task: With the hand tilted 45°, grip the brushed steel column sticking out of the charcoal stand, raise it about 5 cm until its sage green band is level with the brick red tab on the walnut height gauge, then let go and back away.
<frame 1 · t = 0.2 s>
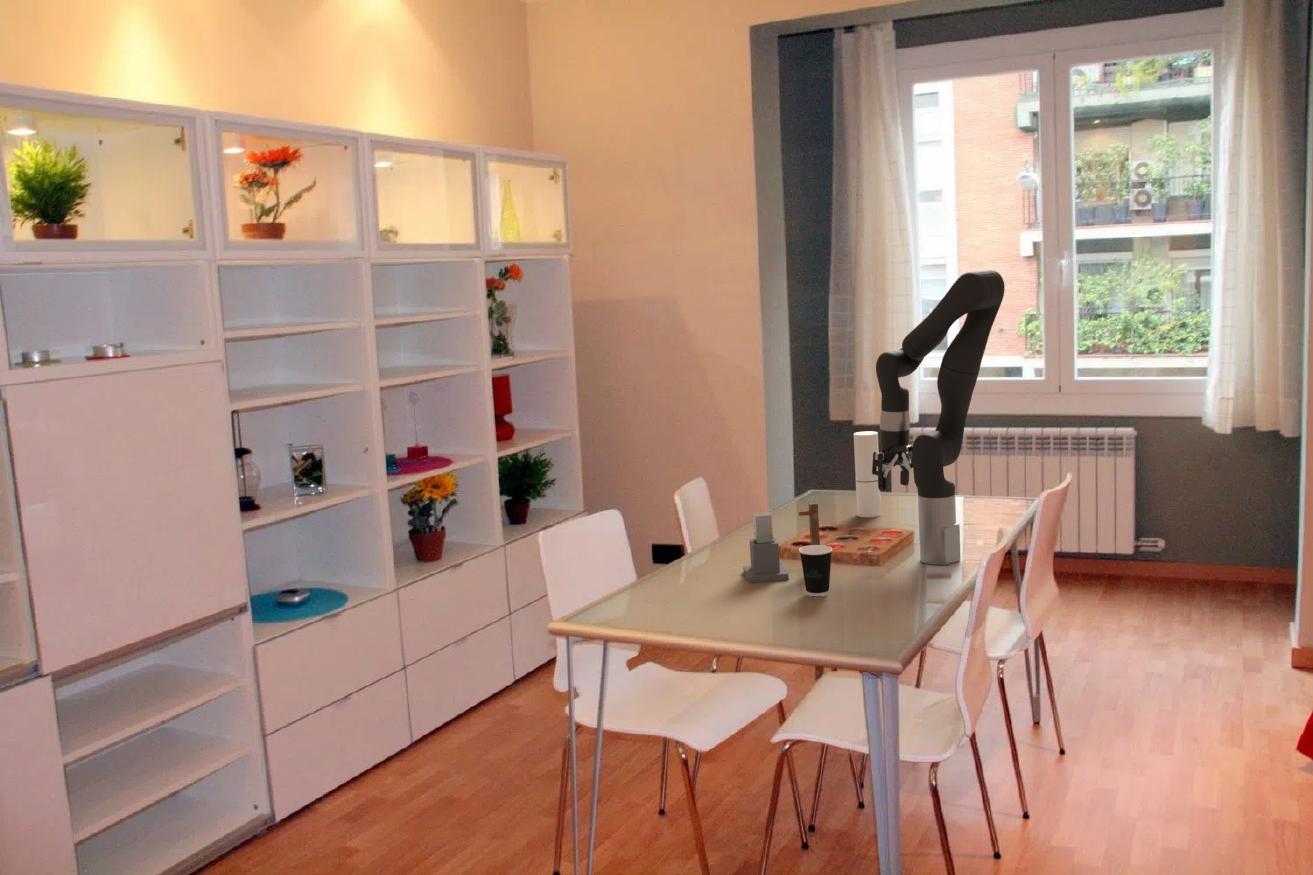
hand: (893, 487, 301), 17 cm above the table, tool pointing down, fingers open, 8 cm apart
dixie cup: (817, 594, 272), on the table
steel column: (763, 541, 289), point 9 cm above the table, slide at 0.0 cm
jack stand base: (765, 575, 291), on the table
cylindrical container: (869, 515, 348), on the table
height gauge: (816, 571, 291), on the table
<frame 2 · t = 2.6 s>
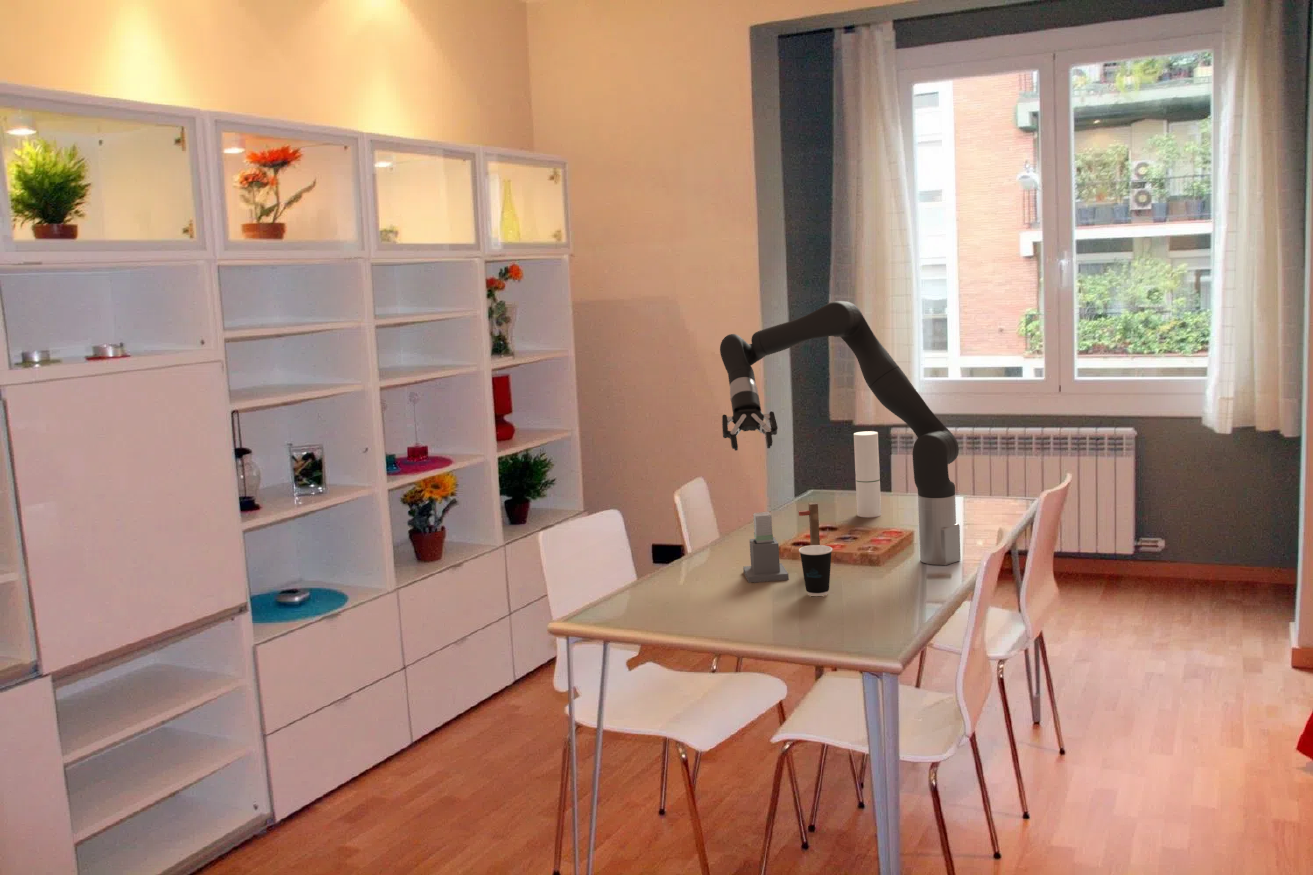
hand: (752, 447, 297), 31 cm above the table, tool tilted 45°, fingers open, 8 cm apart
nothing on the table moved.
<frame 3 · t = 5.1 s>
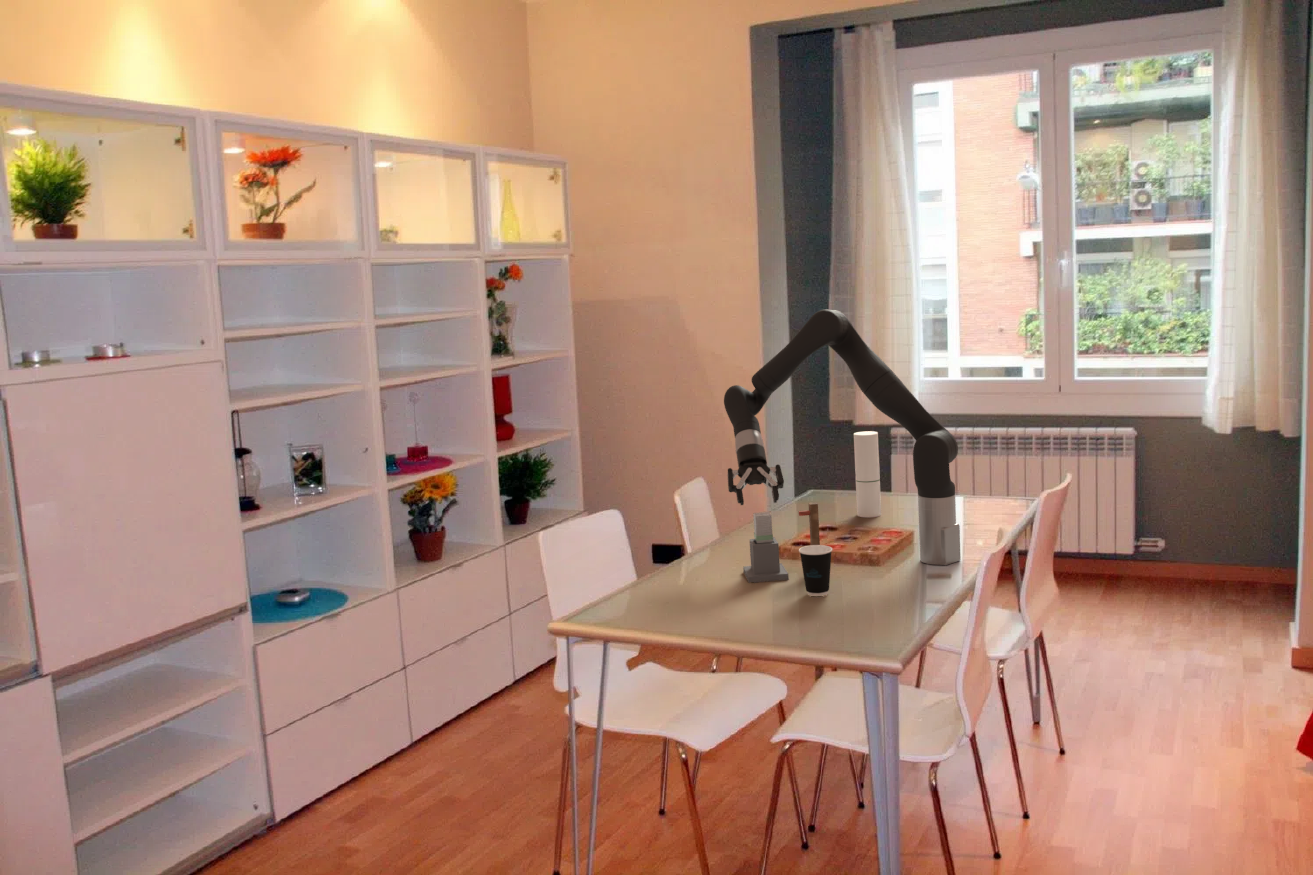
hand: (758, 502, 293), 18 cm above the table, tool tilted 45°, fingers open, 8 cm apart
nothing on the table moved.
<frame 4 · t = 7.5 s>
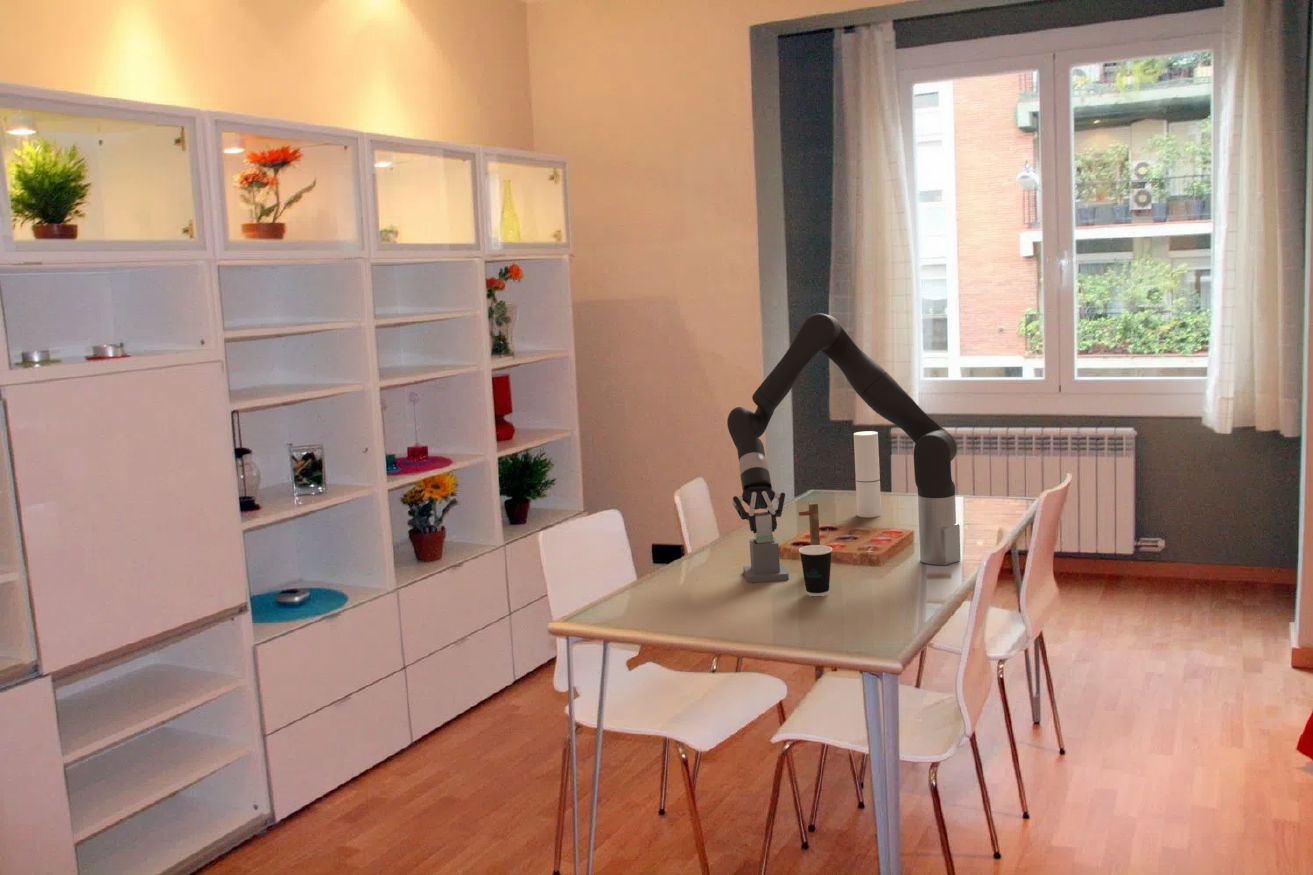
hand: (764, 530, 287), 12 cm above the table, tool tilted 45°, fingers closed on steel column, 4 cm apart
steel column: (763, 541, 289), point 9 cm above the table, slide at 0.0 cm, touching gripper
everything else where it was.
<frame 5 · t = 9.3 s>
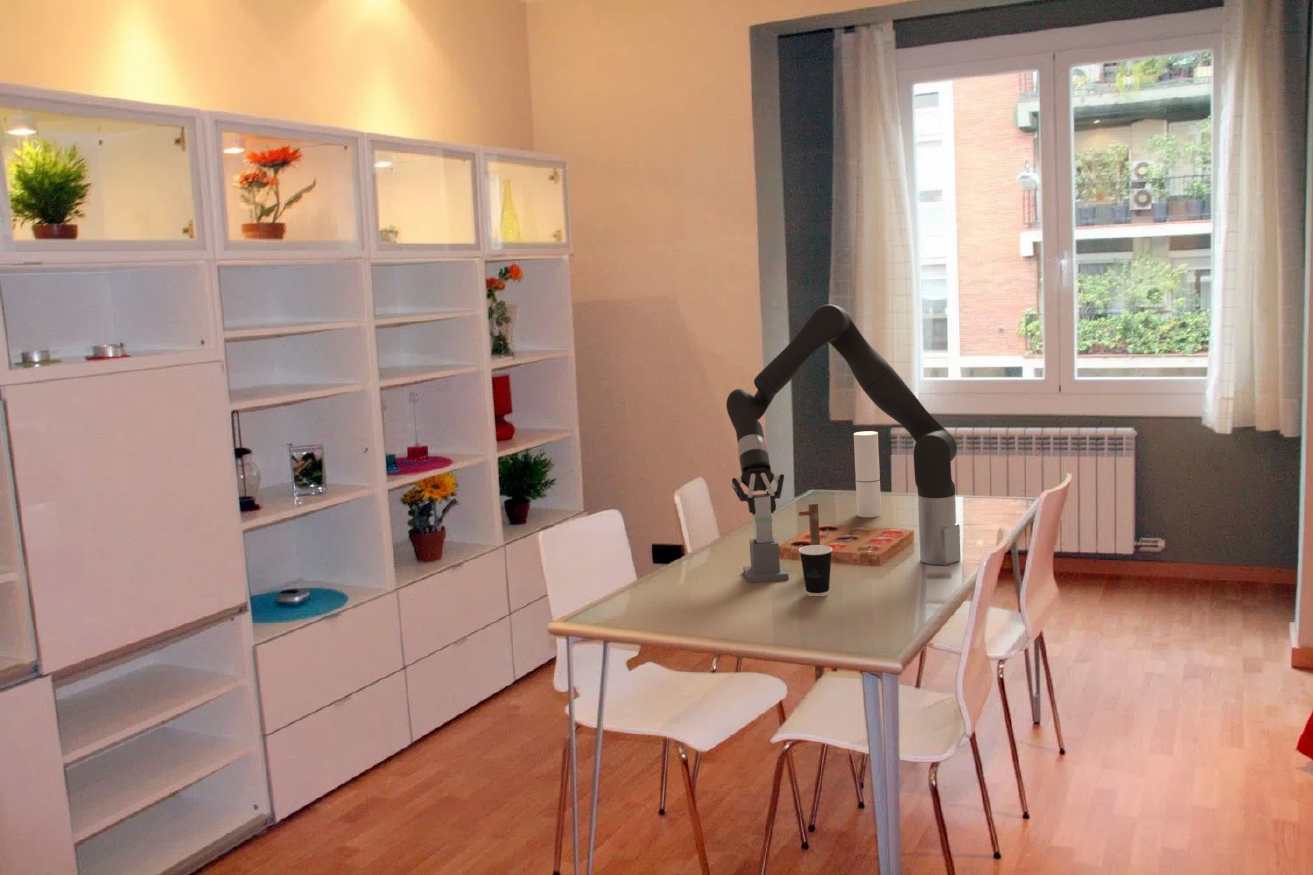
hand: (763, 512, 286), 17 cm above the table, tool tilted 45°, fingers closed on steel column, 4 cm apart
steel column: (762, 523, 288), point 14 cm above the table, slide at 4.7 cm, touching gripper
everything else where it was.
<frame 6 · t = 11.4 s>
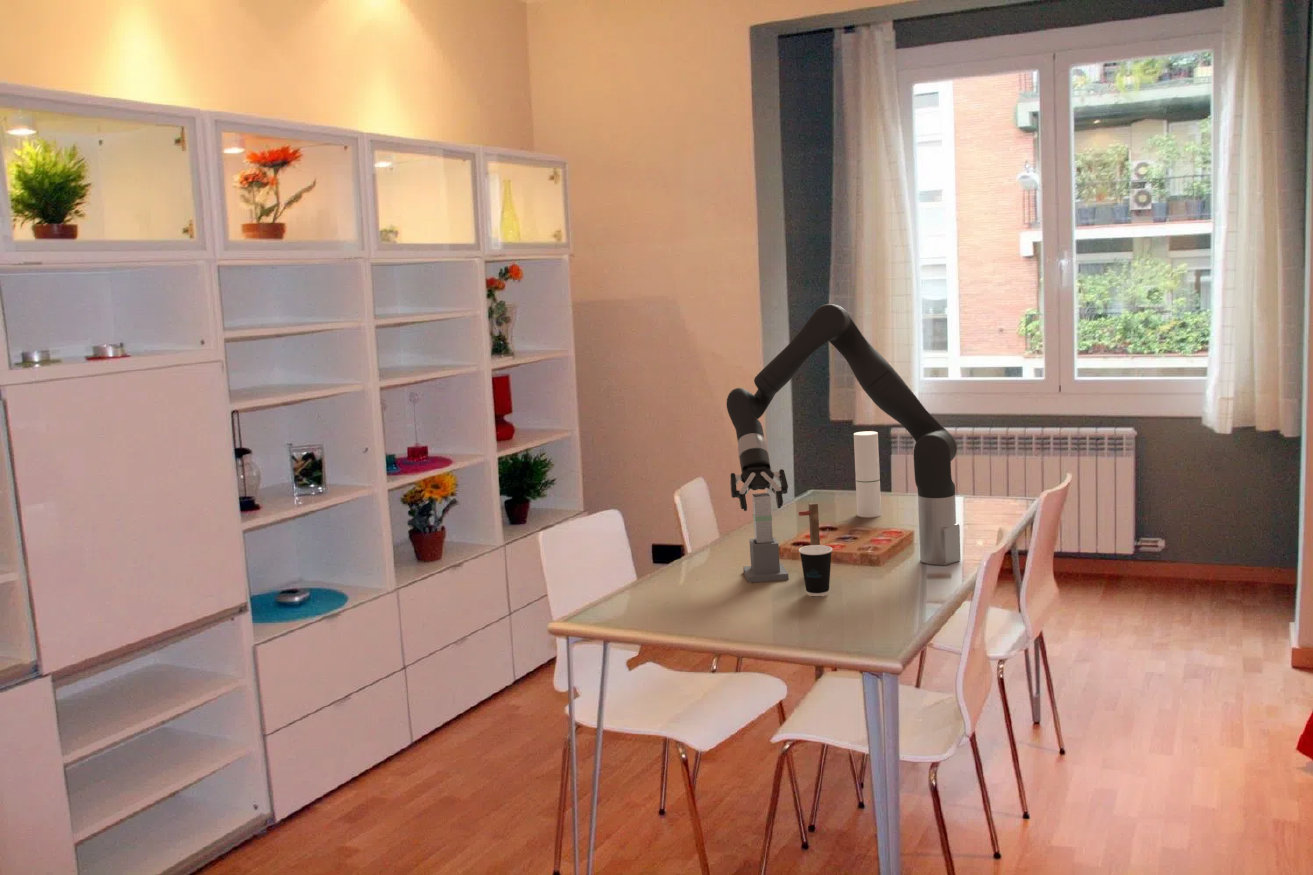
hand: (762, 508, 286), 18 cm above the table, tool tilted 45°, fingers open, 8 cm apart
steel column: (762, 522, 288), point 14 cm above the table, slide at 4.9 cm
everything else where it was.
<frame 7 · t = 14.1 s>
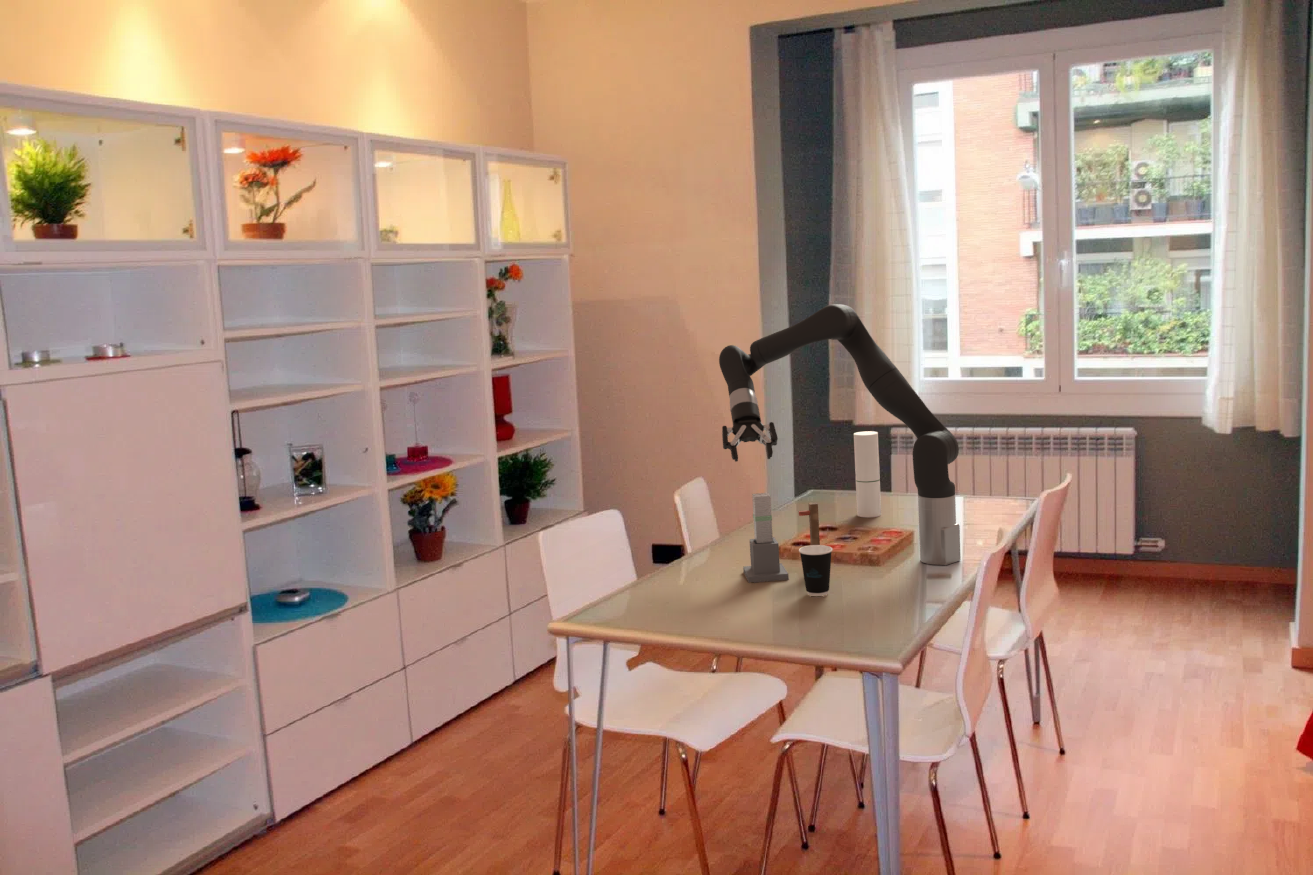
hand: (753, 458, 298), 28 cm above the table, tool tilted 45°, fingers open, 8 cm apart
nothing on the table moved.
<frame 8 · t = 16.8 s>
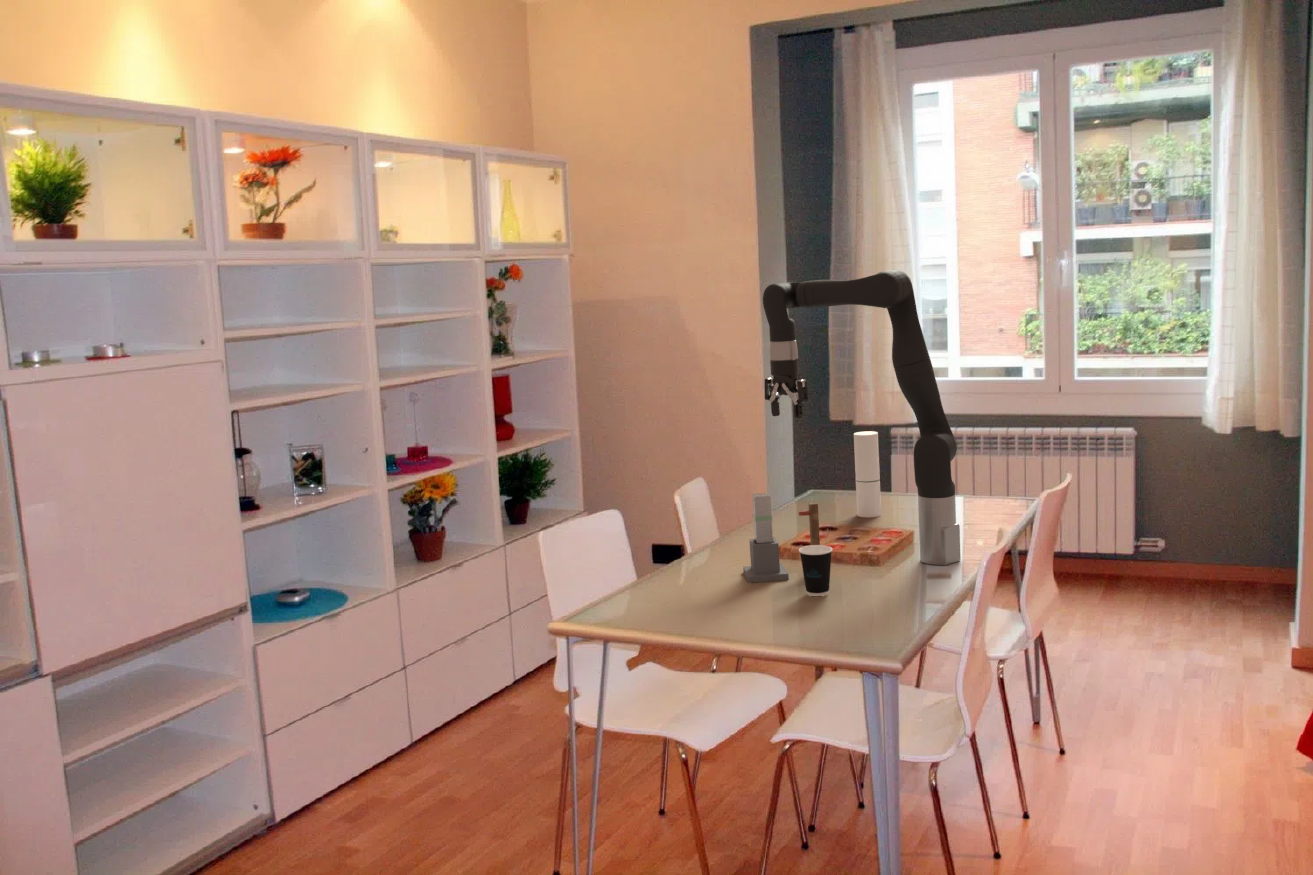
hand: (787, 417, 312), 36 cm above the table, tool pointing down, fingers open, 8 cm apart
nothing on the table moved.
at the end: steel column slide at 4.9 cm; the gripper is holding nothing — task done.
